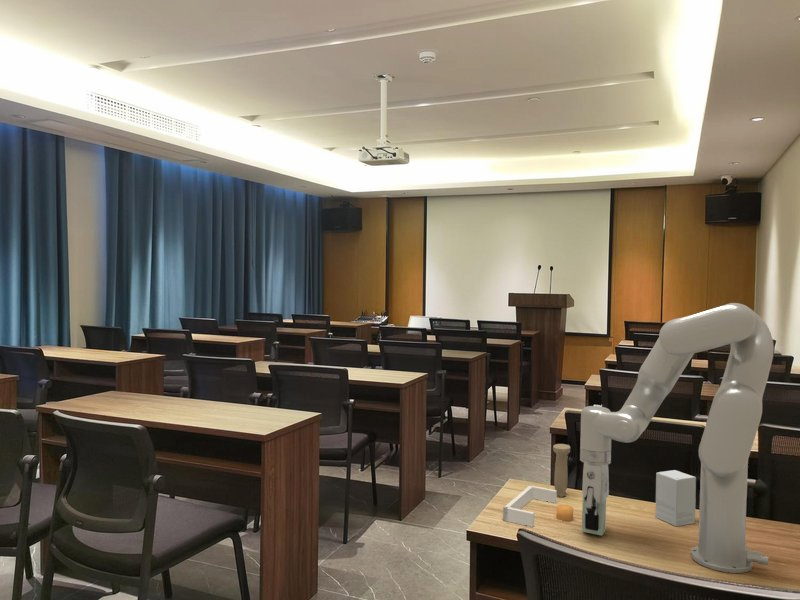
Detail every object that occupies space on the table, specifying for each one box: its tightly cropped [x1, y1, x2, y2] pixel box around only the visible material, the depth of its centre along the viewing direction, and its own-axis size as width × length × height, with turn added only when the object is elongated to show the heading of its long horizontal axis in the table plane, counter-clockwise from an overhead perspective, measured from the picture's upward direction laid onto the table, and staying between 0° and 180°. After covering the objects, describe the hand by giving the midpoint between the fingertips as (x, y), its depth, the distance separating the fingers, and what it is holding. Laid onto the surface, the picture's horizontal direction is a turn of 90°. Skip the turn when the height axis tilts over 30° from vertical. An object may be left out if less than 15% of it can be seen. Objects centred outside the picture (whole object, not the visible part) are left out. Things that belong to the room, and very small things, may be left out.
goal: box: [502, 484, 558, 528], centre depth 169 cm, size 8×22×4 cm, turn 150°
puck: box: [555, 504, 574, 522], centre depth 164 cm, size 4×4×3 cm
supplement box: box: [655, 469, 697, 527], centre depth 164 cm, size 7×7×13 cm
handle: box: [552, 443, 571, 498], centre depth 182 cm, size 5×6×15 cm
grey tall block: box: [581, 499, 607, 537], centre depth 154 cm, size 5×4×8 cm
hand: (593, 525), depth 154 cm, fingers closed on grey tall block, 4 cm apart
